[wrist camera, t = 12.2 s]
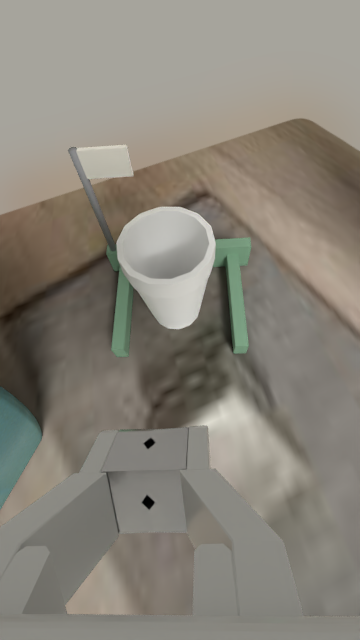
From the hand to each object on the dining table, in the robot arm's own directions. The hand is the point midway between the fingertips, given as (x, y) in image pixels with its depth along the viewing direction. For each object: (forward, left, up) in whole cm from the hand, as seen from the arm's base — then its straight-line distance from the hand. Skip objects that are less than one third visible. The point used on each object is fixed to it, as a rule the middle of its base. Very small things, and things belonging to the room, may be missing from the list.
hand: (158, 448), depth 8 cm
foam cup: (-8, -17, -26) cm, 32 cm away
